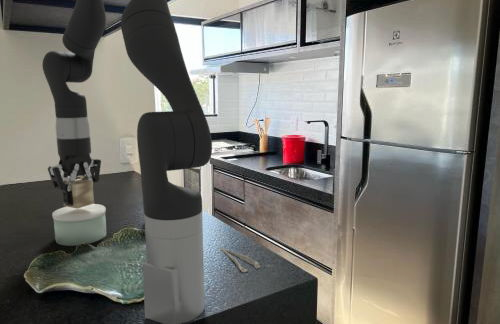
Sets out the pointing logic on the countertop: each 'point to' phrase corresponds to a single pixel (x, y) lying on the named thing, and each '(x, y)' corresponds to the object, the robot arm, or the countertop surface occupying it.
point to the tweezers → (240, 258)
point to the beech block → (82, 193)
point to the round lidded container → (79, 224)
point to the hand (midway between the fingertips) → (79, 202)
